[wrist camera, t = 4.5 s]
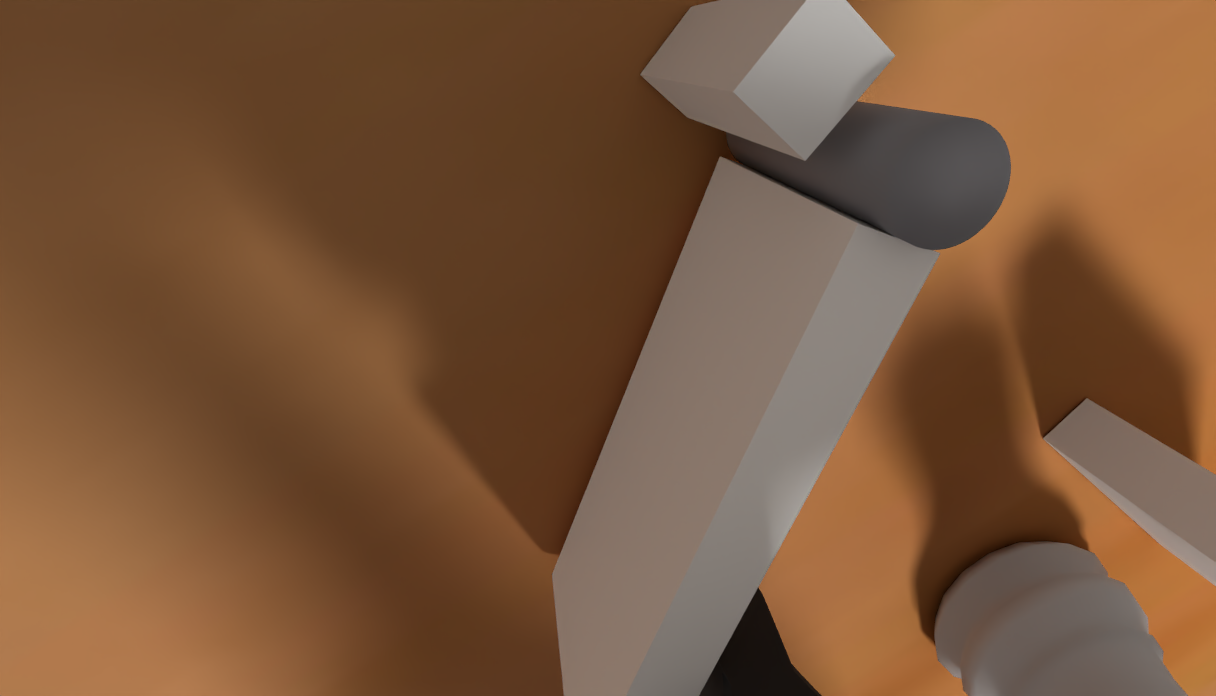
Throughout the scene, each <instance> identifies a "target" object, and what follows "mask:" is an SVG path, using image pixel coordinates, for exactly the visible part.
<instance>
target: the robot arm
mask: <svg viewBox="0 0 1216 696" xmlns="http://www.w3.org/2000/svg"><path fill="white" fill-rule="evenodd" d="M699 696H821V695H820V694H819V693H818V692H817V691H816V690H815V689H814V688H813V686H812V685H811V684H810V683H809V682H808V681H807V680H806V679H805V678H804V677H803V676H802V675H801V674H800V673H799V672H798V671H797V669H796V668H795V667H794V666H793V665H792V664H791V662H790V659H789V657H788V655H787V652H786V650H785V647H784V645H783V642H782V640H781V637H780V635H779V633H778V630H777V628H776V625H775V623H774V621H773V618H772V616H771V613H770V611H769V609H768V606H767V604H766V602H765V599H764V597H763V595H762V593H761V591H760V590H759V588H757V590H756V592H755V594H754V596H753V598H752V599H751V601H750V603H749V605H748V607H747V609H746V610H745V612H744V614H743V616H742V618H741V620H740V621H739V623H738V625H737V627H736V629H735V631H734V632H733V634H732V636H731V638H730V640H729V642H728V643H727V645H726V647H725V649H724V651H723V653H722V654H721V656H720V658H719V660H718V662H717V664H716V665H715V667H714V669H713V671H712V673H711V675H710V676H709V678H708V680H707V682H706V684H705V686H704V687H703V689H702V691H701V693H700V695H699Z"/></svg>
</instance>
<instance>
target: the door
mask: <svg viewBox="0 0 1216 696" xmlns="http://www.w3.org/2000/svg"><path fill="white" fill-rule="evenodd" d="M726 138H727V143H728V147H729V149H730V151H731V153H732V154H733V156H734V157H735V158H736V159H737V160H738V161H739V162H740V163H742V164H743V165H742V164H740V163H737V162H734V161H732V160H729V159H726V158H723V157H721V156H720V157H719V160H718V162H717V165H716V167H715V170H714V172H713V175H712V177H711V180H710V182H709V185H708V187H707V190H706V192H705V195H704V197H703V200H702V202H701V205H700V207H699V210H698V212H697V215H696V217H695V220H694V222H693V225H692V227H691V229H690V232H689V234H688V237H687V239H686V242H685V244H684V247H683V249H682V252H681V254H680V257H679V259H678V262H677V264H676V267H675V269H674V272H673V274H672V277H671V279H670V282H669V284H668V287H667V289H666V292H665V294H664V297H663V299H662V302H661V304H660V307H659V309H658V312H657V314H656V317H655V319H654V322H653V324H652V327H651V329H650V332H649V334H648V337H647V339H646V342H645V344H644V347H643V349H642V352H641V354H640V357H639V359H638V361H637V364H636V366H635V369H634V371H633V374H632V376H631V379H630V381H629V384H628V386H627V389H626V391H625V394H624V396H623V399H622V401H621V404H620V406H619V409H618V411H617V414H616V416H615V419H614V421H613V424H612V426H611V429H610V431H609V434H608V436H607V439H606V441H605V444H604V446H603V449H602V451H601V454H600V456H599V459H598V461H597V464H596V466H595V469H594V471H593V474H592V476H591V479H590V481H589V484H588V486H587V489H586V491H585V494H584V496H583V498H582V501H581V503H580V506H579V508H578V511H577V513H576V516H575V518H574V521H573V523H572V526H571V528H570V531H569V533H568V536H567V538H566V541H565V543H564V546H563V548H562V551H561V553H560V556H559V558H558V561H557V563H556V566H555V568H554V571H553V573H552V580H553V590H554V600H555V610H556V620H557V631H558V641H559V651H560V661H561V671H562V682H563V692H564V696H699V695H700V693H701V691H702V689H703V687H704V686H705V684H706V682H707V680H708V678H709V676H710V675H711V673H712V671H713V669H714V667H715V665H716V664H717V662H718V660H719V658H720V656H721V654H722V653H723V651H724V649H725V647H726V645H727V643H728V642H729V640H730V638H731V636H732V634H733V632H734V631H735V629H736V627H737V625H738V623H739V621H740V620H741V618H742V616H743V614H744V612H745V610H746V609H747V607H748V605H749V603H750V601H751V599H752V598H753V596H754V594H755V592H756V590H757V588H758V587H759V585H760V583H761V581H762V579H763V577H764V576H765V574H766V572H767V570H768V568H769V566H770V565H771V563H772V561H773V559H774V557H775V555H776V554H777V552H778V550H779V548H780V546H781V544H782V543H783V541H784V539H785V537H786V535H787V533H788V532H789V530H790V528H791V526H792V524H793V522H794V521H795V519H796V517H797V515H798V513H799V511H800V510H801V508H802V506H803V504H804V502H805V500H806V499H807V497H808V495H809V493H810V491H811V489H812V488H813V486H814V484H815V482H816V480H817V478H818V477H819V475H820V473H821V471H822V469H823V467H824V466H825V464H826V462H827V460H828V458H829V456H830V455H831V453H832V451H833V449H834V447H835V446H836V444H837V442H838V440H839V438H840V436H841V435H842V433H843V431H844V429H845V427H846V425H847V424H848V422H849V420H850V418H851V416H852V414H853V413H854V411H855V409H856V407H857V405H858V403H859V402H860V400H861V398H862V396H863V394H864V392H865V391H866V389H867V387H868V385H869V383H870V381H871V380H872V378H873V376H874V374H875V372H876V370H877V369H878V367H879V365H880V363H881V361H882V359H883V358H884V356H885V354H886V352H887V350H888V348H889V347H890V345H891V343H892V341H893V339H894V337H895V336H896V334H897V332H898V330H899V328H900V326H901V325H902V323H903V321H904V319H905V317H906V315H907V314H908V312H909V310H910V308H911V306H912V304H913V303H914V301H915V299H916V297H917V295H918V293H919V292H920V290H921V288H922V286H923V284H924V282H925V281H926V279H927V277H928V275H929V273H930V271H931V270H932V268H933V266H934V264H935V262H936V260H937V259H938V257H939V255H940V253H938V252H936V251H934V250H940V249H946V248H950V247H953V246H956V245H958V244H961V243H963V242H965V241H966V240H968V239H970V238H971V237H973V236H974V235H975V234H977V233H978V232H979V231H980V230H981V229H983V228H984V227H985V226H986V225H987V223H988V222H989V221H990V220H991V219H992V217H993V216H994V215H995V213H996V212H997V210H998V209H999V207H1000V205H1001V203H1002V201H1003V199H1004V197H1005V194H1006V192H1007V189H1008V185H1009V180H1010V173H1011V162H1010V155H1009V151H1008V148H1007V145H1006V143H1005V141H1004V139H1003V138H1002V136H1001V135H1000V133H999V132H998V131H997V130H996V129H995V128H993V127H992V126H991V125H989V124H987V123H986V122H984V121H981V120H978V119H973V118H967V117H960V116H953V115H946V114H940V113H933V112H926V111H919V110H912V109H906V108H899V107H892V106H885V105H878V104H872V103H865V102H858V101H856V102H855V103H854V105H853V106H852V107H851V108H850V109H849V110H848V112H847V113H846V114H845V115H844V116H843V117H842V119H841V120H840V121H839V122H838V123H837V124H836V126H835V127H834V128H833V129H832V130H831V131H830V133H829V134H828V135H827V136H826V137H825V139H824V140H823V141H822V142H821V143H820V144H819V146H818V147H817V148H816V149H815V150H814V151H813V153H812V154H811V155H810V156H809V157H808V158H807V160H806V161H804V160H802V159H799V158H796V157H793V156H791V155H788V154H785V153H782V152H780V151H777V150H774V149H772V148H769V147H766V146H763V145H761V144H758V143H755V142H753V141H750V140H747V139H744V138H742V137H739V136H736V135H733V134H731V133H728V132H726Z"/></svg>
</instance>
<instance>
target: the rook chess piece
mask: <svg viewBox="0 0 1216 696" xmlns="http://www.w3.org/2000/svg"><path fill="white" fill-rule="evenodd" d="M934 638H935V644H936V651H937V657H938V661H939V662H940V663H941V664H942V665H943V666H944V667H945V668H946V669H947V670H948V671H949V672H950V673H951V674H952V675H953V676H954V677H958V678H961V679H962V684H963V691H964V692H965V693H966V694H967V695H968V696H1188V695H1187V694H1186V693H1185V692H1184V690H1183V689H1182V688H1181V687H1180V686H1179V685H1178V683H1177V682H1176V681H1175V680H1174V679H1173V677H1172V676H1171V674H1170V673H1169V671H1168V670H1167V668H1166V667H1165V665H1164V664H1163V650H1162V649H1161V647H1160V646H1159V644H1158V643H1157V641H1156V640H1155V638H1154V637H1153V636H1152V635H1150V634H1148V617H1147V616H1146V614H1145V613H1144V611H1143V610H1142V608H1141V607H1140V605H1139V604H1138V602H1137V601H1136V599H1135V598H1134V597H1133V595H1132V594H1131V592H1130V591H1129V589H1128V588H1127V586H1126V585H1125V583H1123V582H1120V581H1117V580H1115V579H1112V578H1109V577H1108V573H1107V571H1106V570H1105V568H1104V567H1103V565H1102V564H1101V562H1100V561H1099V559H1098V558H1097V556H1096V555H1095V554H1094V553H1092V552H1089V551H1087V550H1084V549H1081V548H1079V547H1076V546H1074V545H1071V544H1067V543H1059V542H1050V541H1036V542H1018V543H1015V544H1013V545H1010V546H1007V547H1004V548H1002V549H999V550H996V551H994V552H991V553H988V554H987V555H986V556H984V557H983V558H981V559H980V560H978V561H977V562H976V563H974V564H973V565H971V566H970V567H968V568H967V569H966V570H964V571H963V572H962V573H961V574H960V575H959V576H958V578H957V579H956V580H955V581H954V583H953V584H952V585H951V586H950V587H949V589H948V590H947V591H946V592H945V594H944V595H943V598H942V600H941V603H940V606H939V609H938V612H937V615H936V617H935V633H934Z"/></svg>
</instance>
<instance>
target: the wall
mask: <svg viewBox="0 0 1216 696" xmlns="http://www.w3.org/2000/svg"><path fill="white" fill-rule="evenodd" d="M894 57H895V55H894V54H893V53H892V51H891V50H890V49H889V48H888V47H887V46H886V45H885V44H884V42H883V41H882V40H881V39H880V38H879V37H878V36H877V34H876V33H875V32H874V31H873V30H872V29H871V28H870V27H869V25H868V24H867V23H866V22H865V21H864V20H863V19H862V18H861V16H860V15H859V14H858V13H857V12H856V11H855V10H854V9H853V7H852V6H851V5H850V4H849V3H848V2H847V1H846V0H718V1H714V2H709V3H705V4H700V5H696V6H691V7H690V9H689V10H688V11H687V13H686V14H685V15H684V17H683V18H682V19H681V21H680V22H679V23H678V25H677V26H676V27H675V29H674V30H673V31H672V33H671V34H670V35H669V37H668V38H667V39H666V41H665V42H664V43H663V45H662V46H661V47H660V49H659V50H658V51H657V53H656V54H655V55H654V56H653V58H652V59H651V60H650V62H649V63H648V64H647V66H646V67H645V68H644V70H643V71H642V72H641V74H640V75H641V76H642V77H643V78H644V79H645V80H646V81H647V82H648V83H650V84H651V85H652V86H653V87H654V88H655V89H656V90H657V91H658V92H660V93H661V94H662V95H663V96H664V97H665V98H666V99H667V100H668V101H669V102H671V103H672V104H673V105H674V106H675V107H676V108H677V109H678V110H679V111H681V112H682V113H683V114H684V115H685V116H686V117H687V118H690V119H693V120H695V121H698V122H701V123H703V124H706V125H709V126H712V127H714V128H717V129H720V130H723V131H725V132H728V133H731V134H733V135H736V136H739V137H742V138H744V139H747V140H750V141H753V142H755V143H758V144H761V145H763V146H766V147H769V148H772V149H774V150H777V151H780V152H782V153H785V154H788V155H791V156H793V157H796V158H799V159H802V160H804V161H806V160H807V158H808V157H809V156H810V155H811V154H812V153H813V151H814V150H815V149H816V148H817V147H818V146H819V144H820V143H821V142H822V141H823V140H824V139H825V137H826V136H827V135H828V134H829V133H830V131H831V130H832V129H833V128H834V127H835V126H836V124H837V123H838V122H839V121H840V120H841V119H842V117H843V116H844V115H845V114H846V113H847V112H848V110H849V109H850V108H851V107H852V106H853V105H854V103H855V102H856V101H857V100H858V99H859V98H860V96H861V95H862V94H863V93H864V92H865V91H866V89H867V88H868V87H869V86H870V85H871V84H872V82H873V81H874V80H875V79H876V78H877V76H878V75H879V74H880V73H881V72H882V71H883V69H884V68H885V67H886V66H887V65H888V64H889V62H890V61H891V60H892V59H893V58H894ZM1043 439H1044V440H1045V441H1046V442H1047V443H1048V444H1049V445H1051V446H1052V447H1053V448H1054V449H1055V450H1056V451H1057V452H1058V453H1059V454H1061V455H1062V456H1063V457H1064V458H1065V459H1066V460H1067V461H1068V462H1069V463H1071V464H1072V465H1073V466H1074V467H1075V468H1076V469H1077V470H1078V471H1079V472H1080V473H1082V474H1083V475H1084V476H1085V477H1086V478H1087V479H1088V480H1089V481H1090V482H1092V483H1093V484H1094V485H1095V486H1096V487H1097V488H1098V489H1099V490H1100V491H1102V492H1103V493H1104V494H1105V495H1106V496H1107V497H1108V498H1109V499H1110V500H1111V501H1113V502H1114V503H1115V504H1116V505H1117V506H1118V507H1119V508H1120V509H1121V510H1123V511H1124V512H1125V513H1126V514H1127V515H1128V516H1129V517H1130V518H1131V519H1133V520H1134V521H1135V522H1136V523H1137V524H1138V525H1139V526H1140V527H1141V528H1143V529H1144V530H1145V531H1146V532H1147V533H1148V534H1149V535H1150V536H1151V537H1152V538H1154V539H1155V540H1156V541H1157V542H1158V543H1159V544H1160V545H1162V546H1163V547H1164V548H1166V549H1167V550H1168V551H1170V552H1171V553H1172V554H1174V555H1175V556H1176V557H1178V558H1179V559H1180V560H1182V561H1183V562H1184V563H1186V564H1187V565H1188V566H1190V567H1191V568H1192V569H1194V570H1195V571H1196V572H1198V573H1199V574H1200V575H1202V576H1203V577H1204V578H1206V579H1207V580H1208V581H1210V582H1211V583H1212V584H1214V585H1215V586H1216V475H1215V474H1214V473H1212V472H1210V471H1209V470H1207V469H1205V468H1204V467H1202V466H1200V465H1198V464H1197V463H1195V462H1193V461H1192V460H1190V459H1188V458H1187V457H1185V456H1183V455H1182V454H1180V453H1178V452H1177V451H1175V450H1173V449H1172V448H1170V447H1168V446H1167V445H1165V444H1163V443H1162V442H1160V441H1158V440H1156V439H1155V438H1153V437H1151V436H1150V435H1148V434H1146V433H1145V432H1143V431H1141V430H1140V429H1138V428H1136V427H1135V426H1133V425H1131V424H1130V423H1128V422H1126V421H1125V420H1123V419H1121V418H1120V417H1118V416H1116V415H1114V414H1113V413H1111V412H1109V411H1108V410H1106V409H1104V408H1103V407H1101V406H1099V405H1098V404H1096V403H1094V402H1093V401H1091V400H1089V399H1088V398H1086V399H1085V400H1084V401H1083V402H1082V403H1081V404H1080V405H1079V406H1078V407H1077V408H1076V409H1074V410H1073V411H1072V412H1071V413H1070V414H1069V415H1068V416H1067V417H1066V418H1065V419H1064V420H1063V421H1061V422H1060V423H1059V424H1058V425H1057V426H1056V427H1055V428H1054V429H1053V430H1052V431H1051V432H1049V433H1048V434H1047V435H1046V436H1045V437H1044V438H1043Z"/></svg>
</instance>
